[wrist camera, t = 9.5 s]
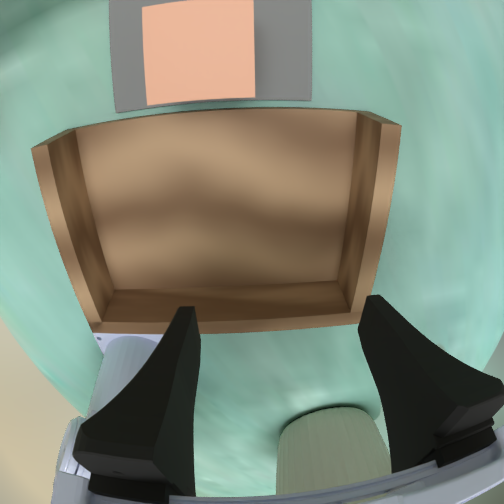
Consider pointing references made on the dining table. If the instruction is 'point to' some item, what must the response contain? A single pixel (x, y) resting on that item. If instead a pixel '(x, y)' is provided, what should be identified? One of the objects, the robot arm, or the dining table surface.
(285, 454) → the canister
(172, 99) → the block
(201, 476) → the dining table surface
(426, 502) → the robot arm
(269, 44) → the mat
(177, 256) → the crate
